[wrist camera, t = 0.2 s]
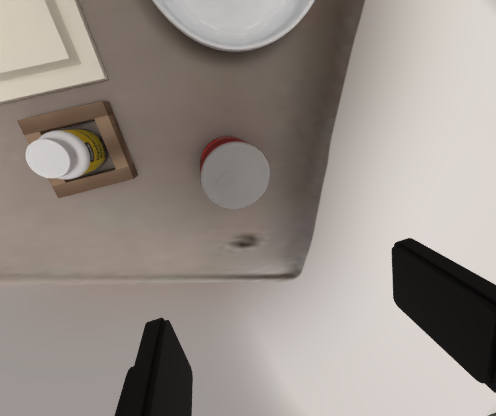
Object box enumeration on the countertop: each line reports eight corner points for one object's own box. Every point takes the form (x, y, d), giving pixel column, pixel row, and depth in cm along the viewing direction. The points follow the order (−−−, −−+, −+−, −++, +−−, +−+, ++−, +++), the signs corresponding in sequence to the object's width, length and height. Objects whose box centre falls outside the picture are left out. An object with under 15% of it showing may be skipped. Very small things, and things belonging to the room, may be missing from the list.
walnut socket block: (30, 120, 32) (16, 120, 30) (108, 102, 33) (102, 100, 31) (67, 193, 36) (58, 198, 34) (137, 174, 37) (133, 178, 34)
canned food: (189, 161, 37) (185, 177, 27) (228, 123, 37) (239, 125, 26) (224, 196, 40) (233, 223, 30) (262, 162, 39) (283, 177, 29)
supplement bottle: (117, 157, 36) (89, 169, 26) (84, 176, 36) (44, 195, 26) (91, 121, 34) (50, 121, 24) (55, 141, 34) (2, 149, 24)
